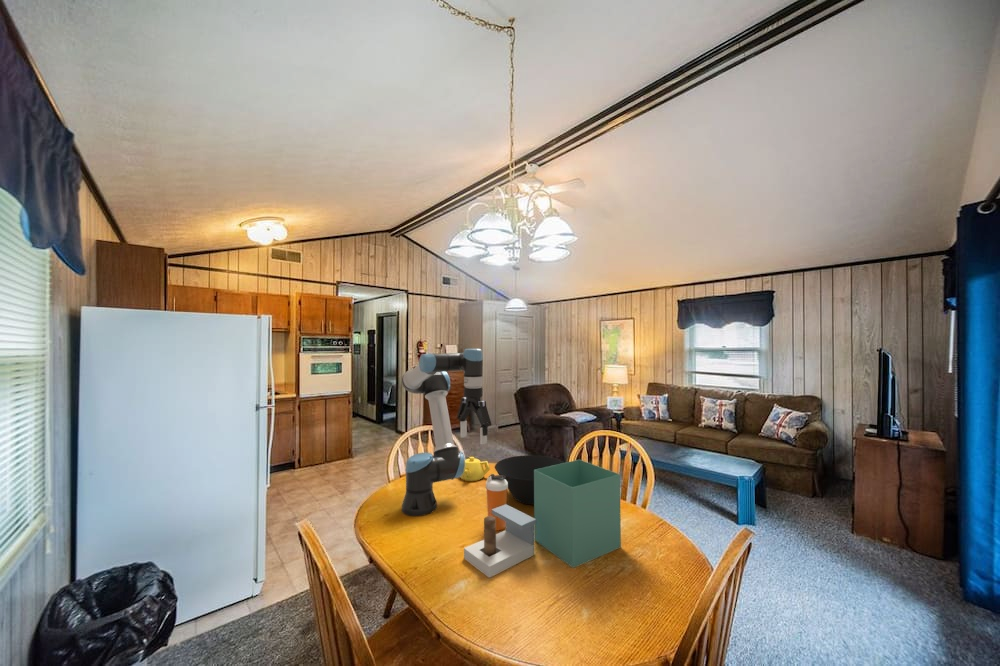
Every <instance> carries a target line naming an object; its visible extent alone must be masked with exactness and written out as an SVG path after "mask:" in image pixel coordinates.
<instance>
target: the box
mask: <svg viewBox="0 0 1000 666" xmlns="http://www.w3.org/2000/svg"><path fill="white" fill-rule="evenodd" d="M533 505H534V506H533V510H534V511H533V513H534V515H533V518H535V519H536V524H534V542H537V544H539V545H540V546H542V547H543V548H545V549H546V550H547V551H549V552H550V553H552V554H553V555H554V556H556V557H557V558H559V559H560V560H561V561H563V562H564V563H566V565H568V566H569V567H571V568H573V569H574V568H576V567H579V566H580V565H583V564H586V563H588V562H590V561H592V560H593V561H594V560H595V559H597V558H600V557H601V556H604V555H607V554H608V553H611V552H613V551H616V550H618V549H620V548H622V537H621V535H622V534H621V533H622V531H621V530H622V529H621V528H622V527H621V526H622V525H621V520H622V519H621V474H620V473H618V472H615V471H611V470H610V469H606V468H603V467H601V466H598V465H596V464H593V463H590V462H587V461H585V460H582V459H577V460H576V459H575V460H572V461H567V462H565V463H562V464H558V465H553V466H549V467H545V468H540V469H536V470H534V504H533Z"/></svg>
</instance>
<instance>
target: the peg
mask: <svg viewBox="0 0 1000 666" xmlns="http://www.w3.org/2000/svg"><path fill="white" fill-rule="evenodd" d="M496 534H497V530H496V518H495V517H492V516H488V515H487V516H485V517H484V518H483V540H484V554H486V555H487V556H489V557H490V556H492V555H494V554H496Z"/></svg>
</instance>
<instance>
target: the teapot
mask: <svg viewBox="0 0 1000 666" xmlns="http://www.w3.org/2000/svg"><path fill="white" fill-rule="evenodd" d="M490 470H491V468H490V465H489V462H488V460H485V461H481V460H480V459H478V458H475V457H474V456H469V457H468V458H466V459H465V468H464V472H463V474H462V476H460V477H459V478H461V480H462V481H464V480H465V482H477V481H481V480H482V479H483V478H484V477H485V475H486V474H487V473H488V472H489V471H490ZM480 479H481V480H480Z"/></svg>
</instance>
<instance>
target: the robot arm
mask: <svg viewBox="0 0 1000 666" xmlns="http://www.w3.org/2000/svg"><path fill="white" fill-rule="evenodd" d="M483 361H484V357H483V350H482V349H481V348H465V349H464V350H463V352H456V353H453V352H450V353H431V352H430V353H429V352H428V353H423V354H421V355H420V357H419V360H418V364H417V365H416V366H415V367H413V368H412V369H408V370H407V371H405V372H404V374H403V375H402V377H401V386H402V387H403V389H404V390H405V391H407V392H409V393H411V394H414V395H415V394H419V395H421V394H423V395H424V398H425V399H426V400H428V405H429V413H430V419H431V426H432V430H433V431H432V432H433V436H434V437H433V438H434V443H435V449H434V451H433V452H432V453H433V454H432V453H431V452H419V453H415V454H413V455H411V456H410V457H408V458H407V460H406V462H405V464H406V465H405V494H404V497H403V500H402V504H401V511H402V513H403V514H404V515H407V516H409V517H418V516H419V517H421V516H426V515H429V514H431V513H433V512H434V511H435V510H436V509H437V508H438V507H437V504H438V503H437V499H436V497H435V496H436V495H435V493H434V490H433V488H434V487H433V486H434V485H433V484H434V483H437V482H438V483H440V482H444V481H448V480H454V479H457V478H458V479H459V478H460V476H462V474H463V472H464V468H465V460H466V459H465V454H464V452H463V451H462V450H461V451H460V450H459V448H458V446H457V445H455V442H454V439H453V438H454V437H453V431H452V426H451V420H450V415H449V410H448V408H449V407H448V405H447V398H446V397H447V395H448V394H449V392H450V390H451V378H450V375H449V374H448V372H462V371H463V386H464V388H463V397H461V398H460V404H459V408H458V411H457V415H456V418H457V419H458V420H459V428H460V434H459V435H460V438H467V437H468V421H467V419H468V418H467V417H468V416H469V414H470V412H471V411H472V412H473V413H474V414H476V416H477V418H478V422H479V424H480V427H479V428H480V429H479V431H480V432H479V433H480V434H479V435H480V436H479V437H480V441H479V443H480V444H479V445H486V444H487V443H488V428H489V427H490V426H492V421H491V418H490V415H489V411H488V407H487V401H486V400H482V399H481V398H482V397H483V390H484V389H483V385H484V384H483V381H484V380H483ZM457 419H456V420H457Z"/></svg>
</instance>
